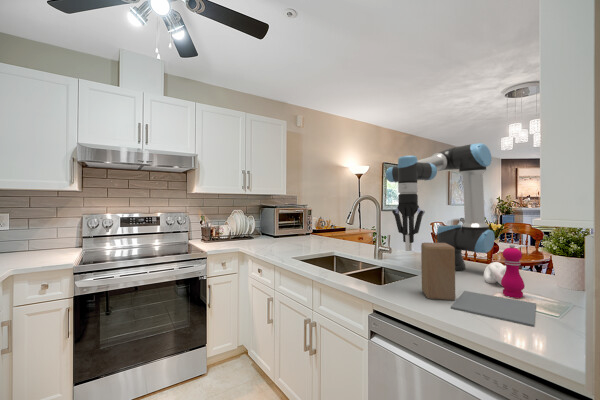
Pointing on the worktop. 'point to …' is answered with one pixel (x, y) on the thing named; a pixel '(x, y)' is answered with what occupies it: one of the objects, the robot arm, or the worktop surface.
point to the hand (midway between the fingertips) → (408, 250)
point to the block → (438, 270)
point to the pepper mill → (512, 273)
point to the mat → (496, 307)
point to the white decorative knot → (494, 272)
